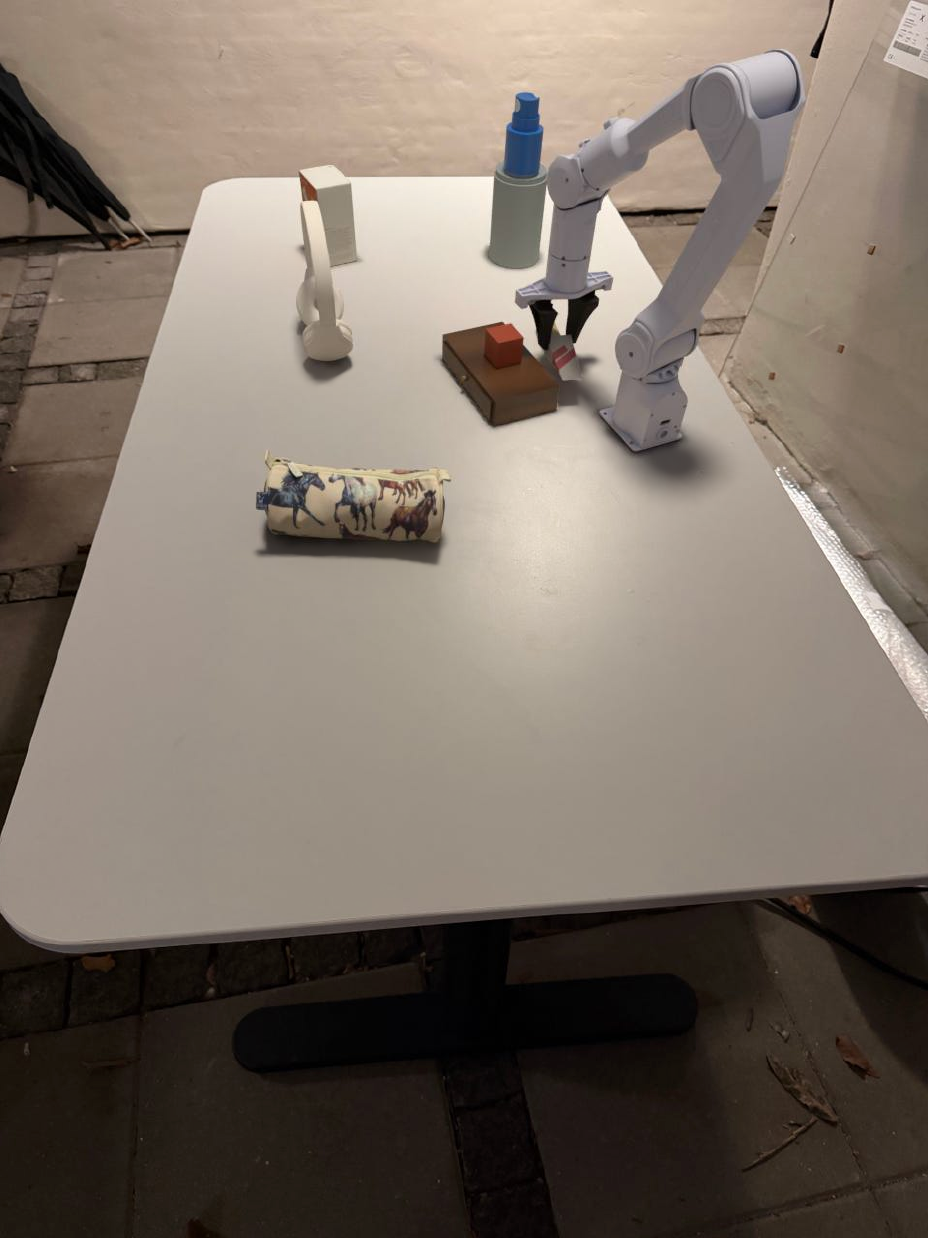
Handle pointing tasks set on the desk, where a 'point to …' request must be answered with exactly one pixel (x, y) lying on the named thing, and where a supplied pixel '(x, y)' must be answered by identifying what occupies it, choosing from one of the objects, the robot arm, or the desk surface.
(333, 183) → the small box
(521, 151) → the spray bottle
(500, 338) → the block
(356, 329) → the desk surface
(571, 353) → the paintbrush
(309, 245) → the headphones
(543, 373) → the cabinet
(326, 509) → the pencil case
